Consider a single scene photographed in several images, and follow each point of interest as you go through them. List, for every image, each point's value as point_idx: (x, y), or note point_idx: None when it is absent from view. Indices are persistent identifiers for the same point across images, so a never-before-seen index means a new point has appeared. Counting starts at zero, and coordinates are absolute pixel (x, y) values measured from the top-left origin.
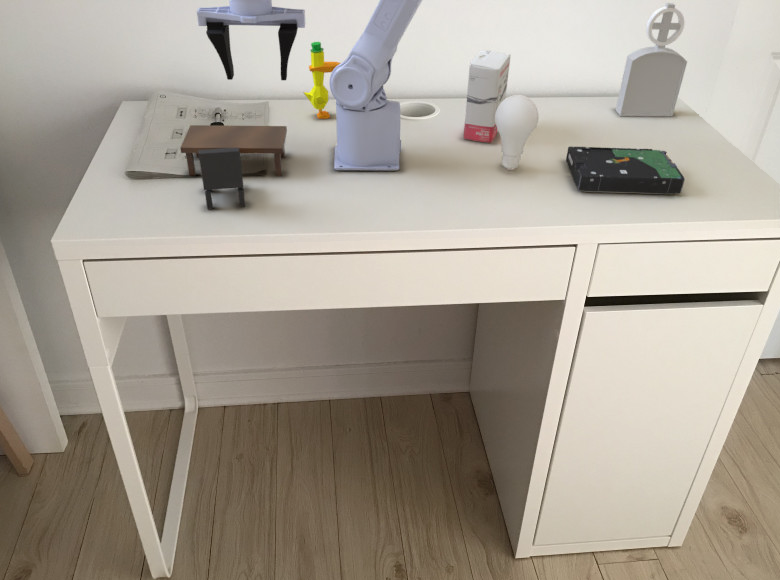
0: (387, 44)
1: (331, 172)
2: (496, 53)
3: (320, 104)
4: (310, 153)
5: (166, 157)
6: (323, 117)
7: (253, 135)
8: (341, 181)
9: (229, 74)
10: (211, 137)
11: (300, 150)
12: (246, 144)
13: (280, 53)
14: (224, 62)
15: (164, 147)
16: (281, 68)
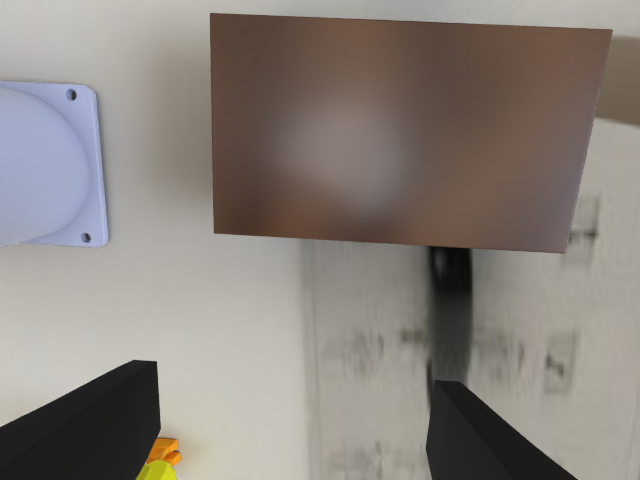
0: None
1: (107, 83)
2: None
3: (144, 464)
4: (179, 219)
5: (595, 208)
6: (160, 441)
7: (328, 146)
8: (71, 16)
9: (457, 394)
10: (487, 132)
11: (209, 240)
12: (351, 56)
13: (2, 469)
14: (520, 444)
15: (599, 277)
16: (103, 392)
